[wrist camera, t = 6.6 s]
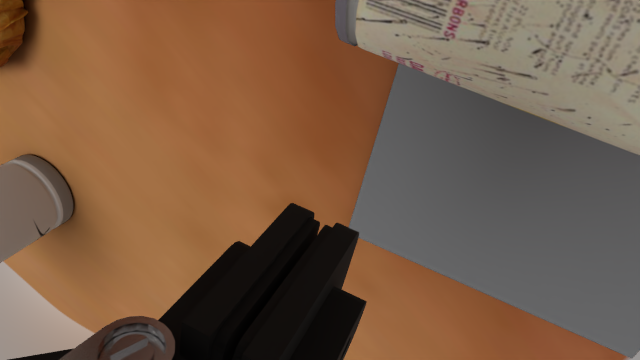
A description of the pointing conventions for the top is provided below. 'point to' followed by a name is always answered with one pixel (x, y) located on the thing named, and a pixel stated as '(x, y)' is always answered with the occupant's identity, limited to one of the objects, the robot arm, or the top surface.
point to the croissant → (11, 27)
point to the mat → (507, 207)
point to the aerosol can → (518, 54)
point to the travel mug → (30, 202)
